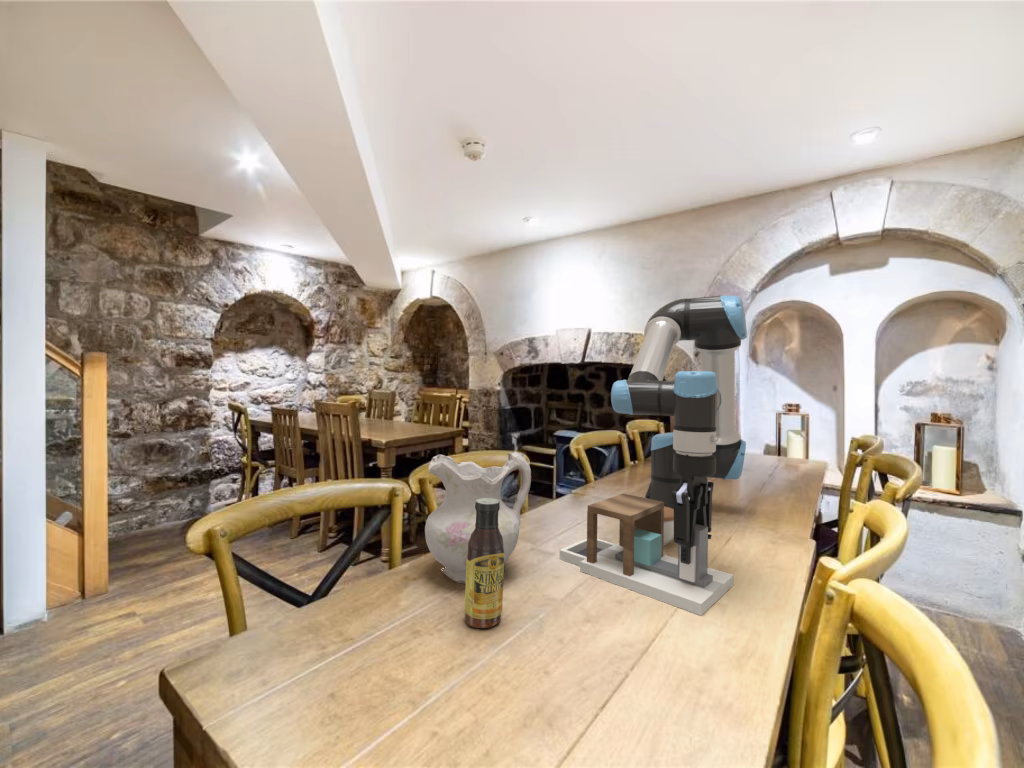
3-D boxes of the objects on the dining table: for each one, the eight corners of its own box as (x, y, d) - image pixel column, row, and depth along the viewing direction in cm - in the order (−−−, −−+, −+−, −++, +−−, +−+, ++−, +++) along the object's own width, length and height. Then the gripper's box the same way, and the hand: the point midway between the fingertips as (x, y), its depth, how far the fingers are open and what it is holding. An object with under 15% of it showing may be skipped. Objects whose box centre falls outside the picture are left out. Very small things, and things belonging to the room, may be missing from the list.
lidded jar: (629, 546, 109) (629, 507, 109) (635, 532, 119) (635, 496, 119) (676, 552, 105) (677, 512, 105) (678, 537, 115) (679, 500, 115)
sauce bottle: (473, 634, 71) (474, 508, 71) (458, 616, 76) (459, 498, 76) (510, 624, 74) (511, 503, 74) (494, 607, 79) (494, 494, 79)
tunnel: (622, 544, 105) (622, 493, 105) (663, 556, 98) (664, 502, 98) (586, 561, 95) (587, 505, 94) (629, 576, 88) (630, 516, 87)
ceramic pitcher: (506, 552, 107) (503, 446, 108) (549, 579, 90) (544, 452, 91) (415, 569, 98) (413, 453, 99) (444, 603, 80) (440, 461, 81)
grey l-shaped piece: (625, 553, 98) (625, 507, 98) (712, 580, 86) (713, 527, 85) (615, 558, 96) (615, 511, 95) (704, 587, 83) (705, 533, 83)
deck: (595, 542, 111) (595, 534, 111) (733, 585, 89) (733, 574, 89) (553, 561, 99) (553, 551, 99) (701, 615, 77) (701, 603, 77)
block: (639, 552, 97) (639, 528, 97) (661, 558, 93) (661, 534, 93) (626, 558, 93) (627, 534, 93) (649, 566, 90) (649, 540, 90)
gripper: (695, 461, 77) (693, 597, 77) (731, 449, 89) (729, 568, 90) (654, 455, 82) (652, 583, 83) (693, 445, 95) (691, 557, 95)
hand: (692, 575), depth 86 cm, fingers closed on grey l-shaped piece, 4 cm apart
